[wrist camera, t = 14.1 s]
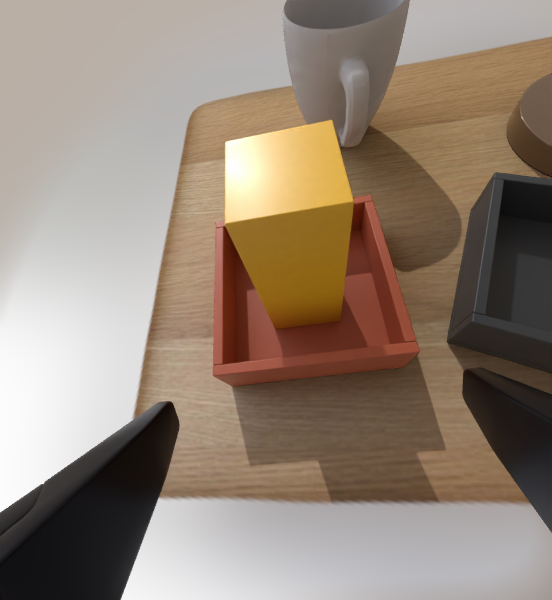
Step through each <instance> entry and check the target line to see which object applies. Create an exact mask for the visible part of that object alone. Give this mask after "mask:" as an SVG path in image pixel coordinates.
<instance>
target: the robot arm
mask: <svg viewBox="0 0 552 600" xmlns="http://www.w3.org/2000/svg"><path fill="white" fill-rule="evenodd" d="M462 394H463V398H464V401H465V403H466V404H467V406H468V408H469V409H470V411H471V413H472V415H473V416H474V418H475V420H476V422H477V423H478V425H479V427H480V429H481V430H482V432H483V434H484V436H485V437H486V439H487V441H488V443H489V444H490V446H491V447H492V449H493V451H494V452H495V454H496V455H497V457H498V458H499V459H500V461H501V462H502V464H503V465H504V466H505V468H506V469H507V471H508V472H509V474H510V475H511V476H512V478H513V479H514V481H515V482H516V483H517V485H518V486H519V488H520V489H521V490H522V492H523V493H524V495H525V496H526V497H527V499H528V500H529V502H530V503H531V504H532V506H533V507H534V509H535V510H536V511H537V512H538V514H539V516H540V517H541V518H542V520H543V521H544V522H545V524H546V525H547V527H548V528H549V530H550V531H551V532H552V394H549V393H546V392H544V391H541V390H538V389H536V388H533V387H531V386H528V385H525V384H523V383H520V382H517V381H515V380H512V379H509V378H507V377H504V376H502V375H499V374H496V373H494V372H491V371H488V370H486V369H483V368H470V369H466V370H465V371H464V373H463V390H462ZM178 431H179V419H178V416H177V414H176V411H175V408H174V405H173V403H172V402H170V401H166V402H159V403H157V404H155V405H154V406H153V407H151V408H150V409H148V410H147V411H145V412H144V413H143V414H141V415H140V416H138V417H137V418H135V419H134V420H133V421H131V422H130V423H128V424H127V425H125V426H124V427H123V428H121V429H120V430H118V431H117V432H115V433H114V434H113V435H111V436H110V437H108V438H107V439H105V440H104V441H103V442H101V443H100V444H98V445H97V446H95V447H94V448H93V449H91V450H90V451H88V452H87V453H86V454H84V455H83V456H81V457H80V458H78V459H77V460H75V461H74V462H73V463H71V464H70V465H68V466H67V467H65V468H64V469H63V470H61V471H60V472H58V473H57V474H55V475H54V476H53V477H51V478H50V479H48V480H47V481H45V483H44V484H41V485H40V486H39V487H37V488H35V489H34V490H32V491H31V492H30V493H28V494H27V495H25V496H24V497H22V498H21V499H19V500H18V501H17V502H15V503H14V504H12V505H11V506H9V507H8V508H6V509H5V510H3V511H2V512H0V600H121V597H122V595H123V592H124V589H125V587H126V584H127V581H128V578H129V576H130V573H131V570H132V568H133V565H134V562H135V559H136V557H137V554H138V552H139V549H140V546H141V543H142V541H143V538H144V535H145V533H146V530H147V527H148V525H149V522H150V519H151V517H152V514H153V511H154V509H155V506H156V503H157V500H158V498H159V495H160V492H161V490H162V487H163V484H164V481H165V479H166V476H167V472H168V469H169V465H170V461H171V458H172V454H173V450H174V446H175V443H176V439H177V435H178Z"/></svg>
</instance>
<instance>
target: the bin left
mask: <svg viewBox="0 0 552 600" xmlns="http://www.w3.org/2000/svg"><path fill="white" fill-rule="evenodd" d="M353 200H354V207H353V216H352V225H351V233H350V242H349V251H348V259H347V268H346V277H345V286H344V294H343V303H342V312H341V320H340V321H337V322H329V323H321V324H314V325H306V326H298V327H290V328H283V329H275V328H274V326H273V324H272V322H271V320H270V318H269V315H268V313H267V311H266V309H265V307H264V305H263V303H262V301H261V299H260V297H259V295H258V293H257V291H256V288H255V286H254V284H253V282H252V280H251V278H250V276H249V274H248V272H247V270H246V268H245V266H244V264H243V261H242V259H241V257H240V255H239V253H238V251H237V249H236V247H235V245H234V243H233V241H232V239H231V237H230V234H229V232H228V230H227V228H226V226H225V221H219V222H216V242H215V292H214V342H213V365H214V366H213V376H214V377H216V378H218V379H220V380H221V381H223V382H225V383H227V384H229V385H231V386H238V385H247V384H256V383H265V382H274V381H283V380H292V379H301V378H310V377H319V376H328V375H337V374H346V373H355V372H364V371H373V370H382V369H391V368H400V367H404V366H405V365H406V364H407V363H408V362H409V361H410V360H412V359H413V358H414V357H415V356H416V355H417V354H418V353H419V352H420V351H419V347H418V344H417V342H416V338H415V335H414V331H413V328H412V325H411V322H410V319H409V315H408V312H407V309H406V306H405V302H404V299H403V296H402V293H401V289H400V286H399V283H398V280H397V276H396V273H395V270H394V267H393V264H392V260H391V257H390V254H389V251H388V247H387V244H386V241H385V238H384V234H383V231H382V228H381V225H380V222H379V218H378V215H377V212H376V209H375V205H374V202H373V199H372V196H371V195H366V196H361V197H355V198H353Z"/></svg>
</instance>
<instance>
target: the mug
mask: <svg viewBox="0 0 552 600" xmlns="http://www.w3.org/2000/svg"><path fill="white" fill-rule="evenodd" d="M409 1H410V0H287V1H286V3H285V6H284V9H283V32H284V41H285V48H286V55H287V61H288V67H289V72H290V76H291V81H292V85H293V89H294V93H295V96H296V99H297V102H298V105H299V108H300V110H301V112H302V115H303V117H304V119H305V121H306V122H307V124H308V125H309V124H313V123H318V122H323V121H328V120H332V121H333V125H334V128H335V132H336V136H337V140H338V143H339V147H340V148H341V147H346V148H347V147H353V146H356V145H358V144H359V143H360V142H361V141H362V138H363V136H364V134H365V133H366V130H367V127H368V125H369V123H370V122H371V120H372V118H373V117H374V115H375V113H376V112H377V110H378V108H379V106H380V104H381V102H382V100H383V98H384V95H385V93H386V90H387V88H388V85H389V83H390V80H391V77H392V74H393V71H394V68H395V64H396V61H397V57H398V54H399V50H400V46H401V42H402V37H403V33H404V28H405V23H406V18H407V13H408V8H409Z"/></svg>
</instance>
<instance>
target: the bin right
mask: <svg viewBox="0 0 552 600" xmlns="http://www.w3.org/2000/svg"><path fill="white" fill-rule="evenodd" d="M447 342H449V343H452V344H455V345H459V346H462V347H466V348H469V349H472V350H476V351H479V352H483V353H486V354H489V355H493V356H496V357H500V358H503V359H506V360H510V361H513V362H517V363H520V364H523V365H527V366H530V367H534V368H537V369H540V370H544V371H547V372H550V373H552V179H545V178H537V177H529V176H521V175H513V174H506V173H498V172H495V173H494V175H493V176H492V178H491V179H490V181H489V182H488V184H487V186H486V187H485V189H484V190H483V192H482V194H481V195H480V197H479V198H478V200H477V201H476V203H475V205H474V206H473V208H472V209H471V212H470V218H469V223H468V229H467V234H466V240H465V245H464V250H463V256H462V261H461V267H460V272H459V278H458V283H457V289H456V294H455V300H454V305H453V310H452V316H451V321H450V327H449V332H448V338H447Z"/></svg>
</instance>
